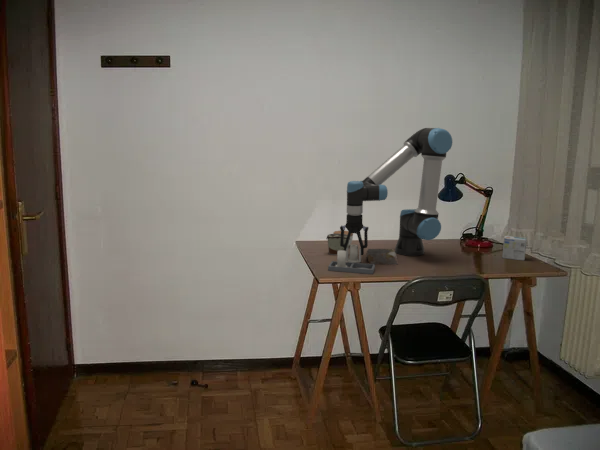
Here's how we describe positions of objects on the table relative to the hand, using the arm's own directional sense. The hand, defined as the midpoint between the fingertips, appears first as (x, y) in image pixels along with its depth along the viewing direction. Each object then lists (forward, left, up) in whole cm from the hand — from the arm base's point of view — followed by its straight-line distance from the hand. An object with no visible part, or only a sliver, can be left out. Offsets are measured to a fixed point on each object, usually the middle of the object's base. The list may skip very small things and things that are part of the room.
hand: (353, 261), depth 244 cm
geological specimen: (-13, -8, -2) cm, 15 cm away
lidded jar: (+10, -33, -1) cm, 34 cm away
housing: (-1, +11, -1) cm, 11 cm away
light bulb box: (-78, -34, -1) cm, 85 cm away
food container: (+10, -17, -1) cm, 20 cm away
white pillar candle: (0, 0, 0) cm, 0 cm away
